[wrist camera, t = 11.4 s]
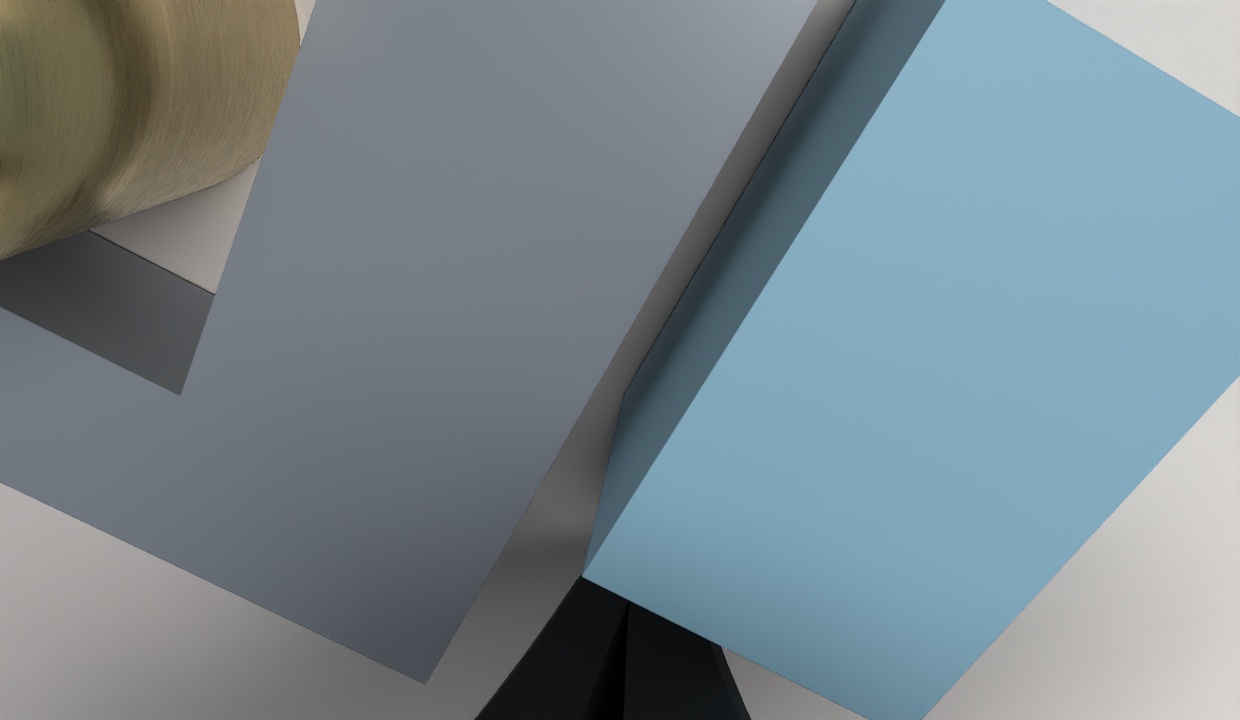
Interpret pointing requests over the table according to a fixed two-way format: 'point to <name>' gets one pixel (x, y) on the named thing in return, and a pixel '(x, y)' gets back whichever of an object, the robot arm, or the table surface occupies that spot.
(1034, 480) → the light blue rectangular block
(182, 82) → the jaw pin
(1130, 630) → the table surface
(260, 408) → the grey holder tray
